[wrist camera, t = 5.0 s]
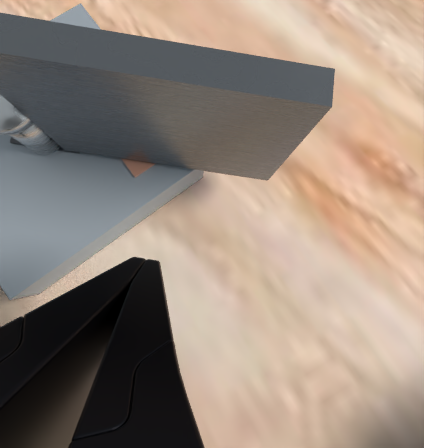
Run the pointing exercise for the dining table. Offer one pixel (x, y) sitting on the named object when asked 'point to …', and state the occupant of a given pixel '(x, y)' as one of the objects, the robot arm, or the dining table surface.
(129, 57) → the gray pivoting panel
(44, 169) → the gray square base
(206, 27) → the dining table surface
